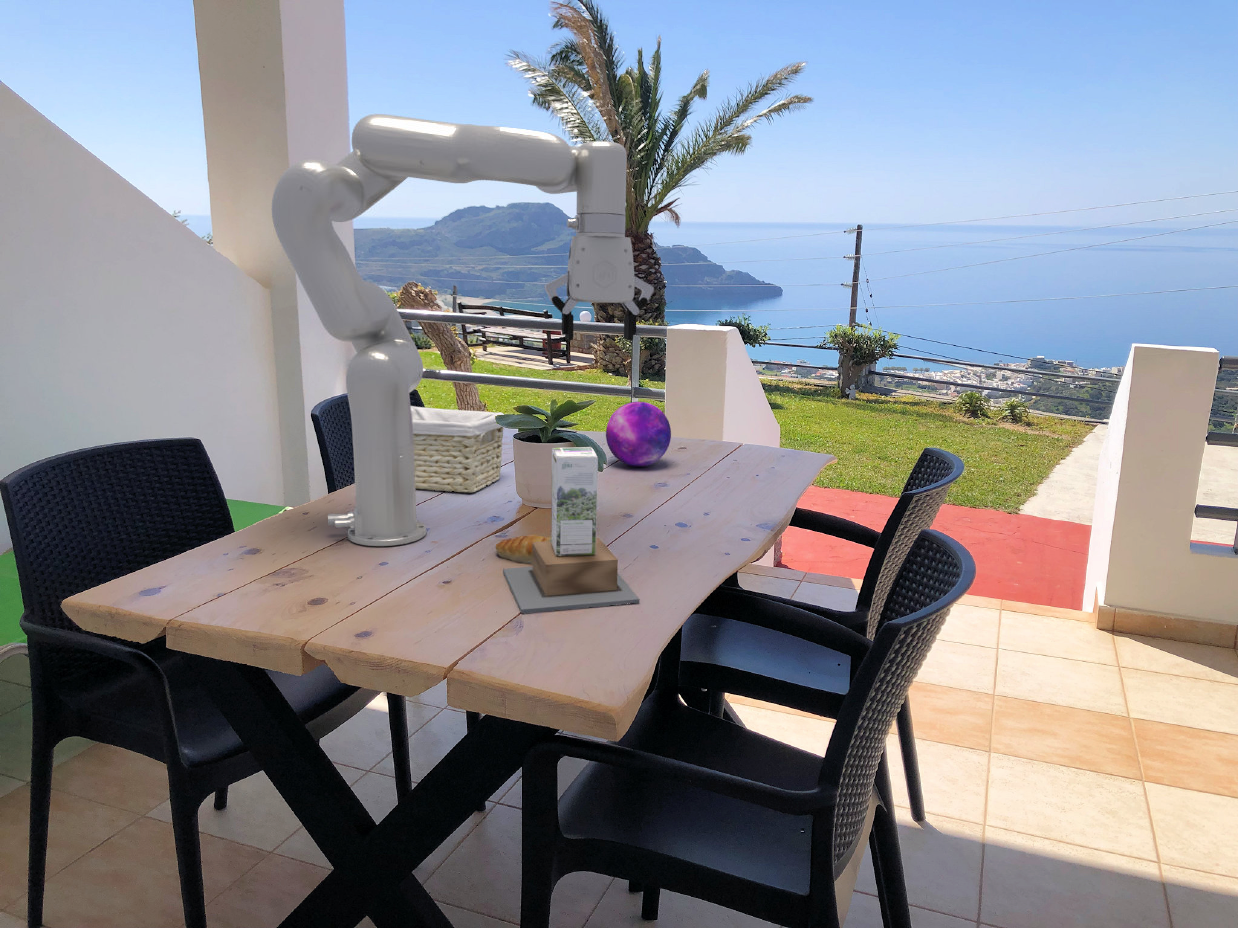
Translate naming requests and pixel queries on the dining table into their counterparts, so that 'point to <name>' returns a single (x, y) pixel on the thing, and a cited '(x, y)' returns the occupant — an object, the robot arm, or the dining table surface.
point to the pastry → (519, 548)
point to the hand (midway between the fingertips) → (598, 339)
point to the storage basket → (456, 449)
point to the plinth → (573, 571)
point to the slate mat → (533, 601)
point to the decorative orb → (638, 434)
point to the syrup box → (574, 501)
